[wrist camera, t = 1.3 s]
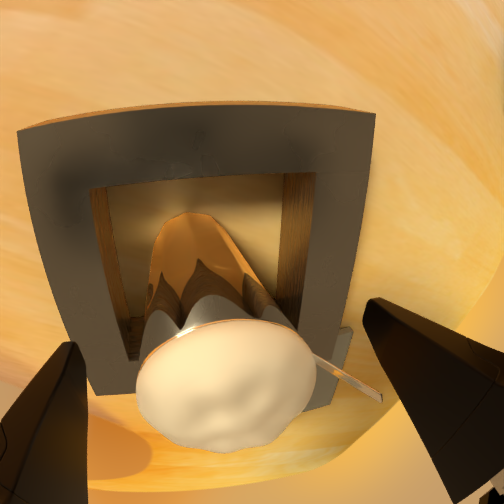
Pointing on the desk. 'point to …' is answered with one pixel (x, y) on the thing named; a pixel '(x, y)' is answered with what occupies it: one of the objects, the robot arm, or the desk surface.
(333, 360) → the pad
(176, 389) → the milkshake
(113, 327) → the collar
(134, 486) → the desk surface
